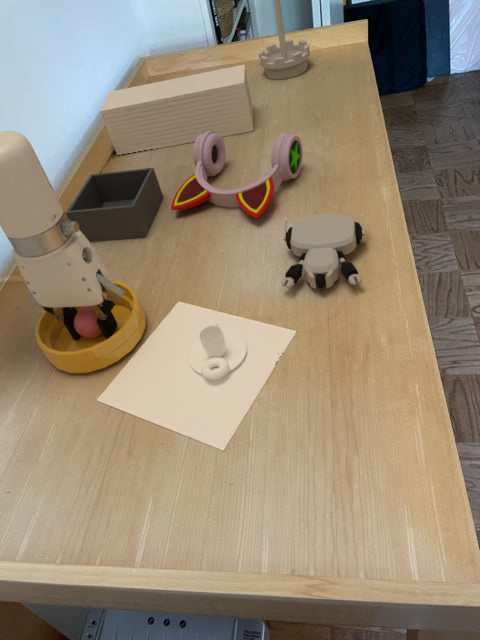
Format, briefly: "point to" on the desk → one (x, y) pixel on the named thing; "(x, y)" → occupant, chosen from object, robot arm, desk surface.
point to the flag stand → (284, 53)
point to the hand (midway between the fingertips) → (95, 332)
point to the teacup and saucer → (199, 372)
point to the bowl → (92, 350)
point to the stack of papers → (179, 110)
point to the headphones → (249, 197)
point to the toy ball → (87, 323)
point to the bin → (117, 205)
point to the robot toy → (323, 249)
